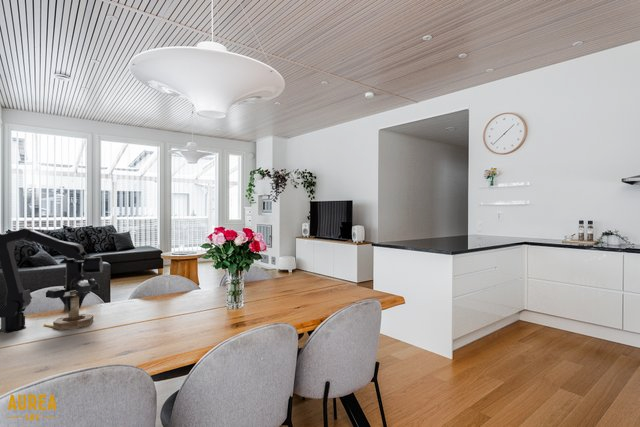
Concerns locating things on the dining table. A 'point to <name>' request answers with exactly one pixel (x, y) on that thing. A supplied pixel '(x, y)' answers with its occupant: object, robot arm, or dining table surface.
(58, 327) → the brown octagonal ring
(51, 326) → the thin yellow rod
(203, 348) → the dining table surface
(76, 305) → the beige wooden peg
